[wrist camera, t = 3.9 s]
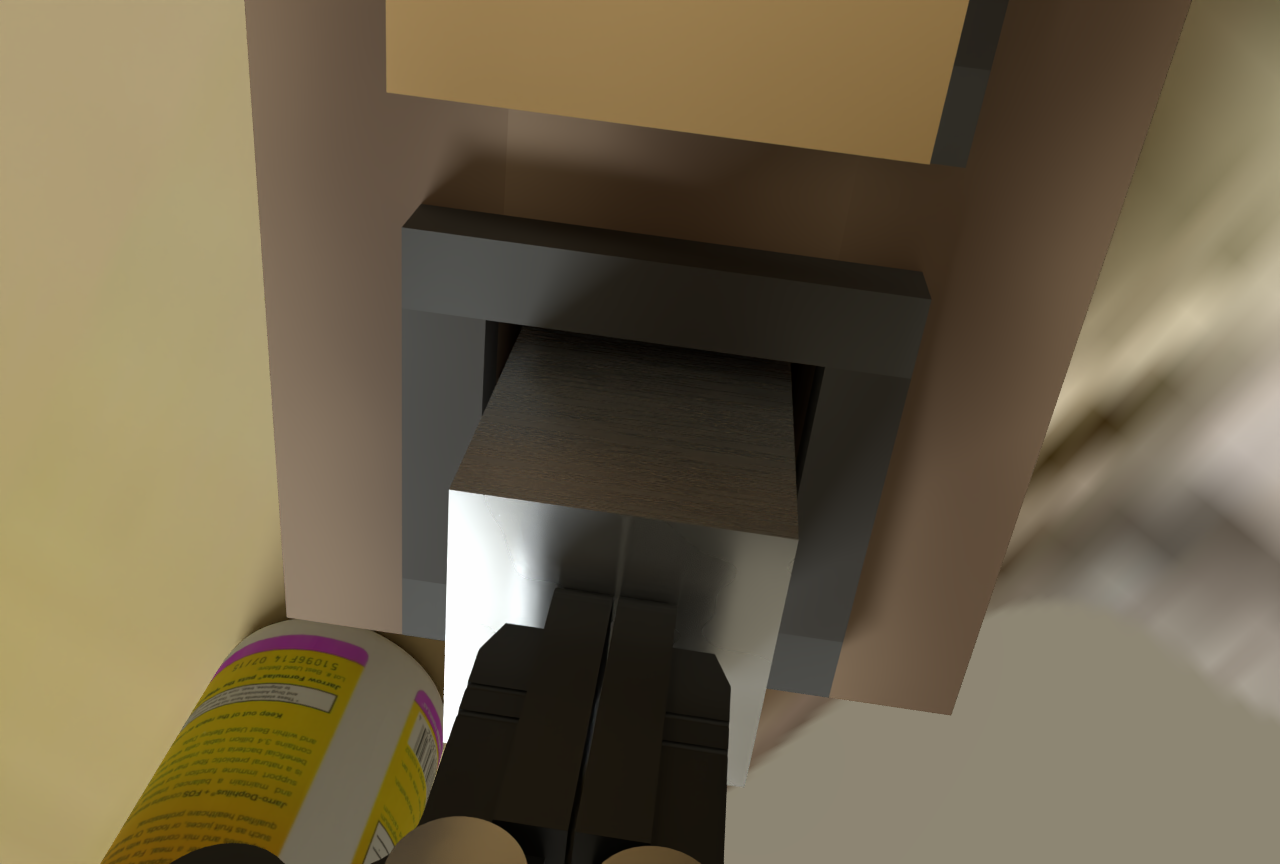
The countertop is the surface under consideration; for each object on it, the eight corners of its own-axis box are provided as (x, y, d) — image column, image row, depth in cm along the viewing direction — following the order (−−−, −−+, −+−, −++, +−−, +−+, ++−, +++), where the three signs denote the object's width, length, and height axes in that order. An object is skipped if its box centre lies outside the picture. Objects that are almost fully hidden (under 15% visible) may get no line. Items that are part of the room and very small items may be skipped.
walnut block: (408, 406, 27) (265, 654, 19) (410, -565, 18) (142, -833, 10) (903, 476, 27) (960, 757, 19) (1158, -480, 18) (1468, -691, 10)
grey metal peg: (545, 438, 22) (443, 742, 15) (559, 243, 20) (449, 490, 13) (751, 467, 22) (744, 788, 15) (786, 274, 20) (798, 540, 13)
